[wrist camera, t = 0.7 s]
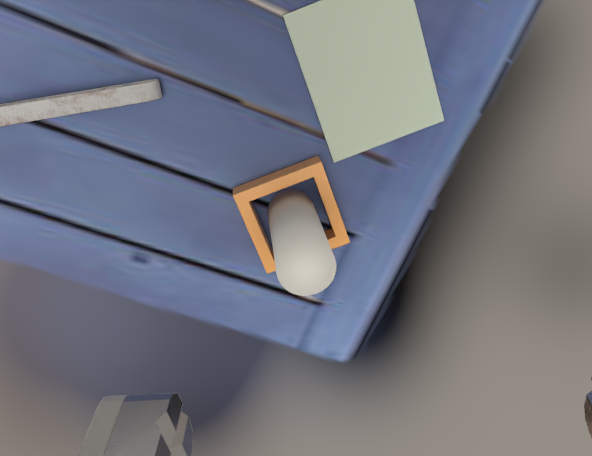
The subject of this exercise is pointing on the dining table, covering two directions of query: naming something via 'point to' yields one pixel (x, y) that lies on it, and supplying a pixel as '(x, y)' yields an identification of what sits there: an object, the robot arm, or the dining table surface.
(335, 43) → the mat
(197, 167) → the dining table surface
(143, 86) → the wrench
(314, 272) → the tall white pillar
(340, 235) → the orange square frame
